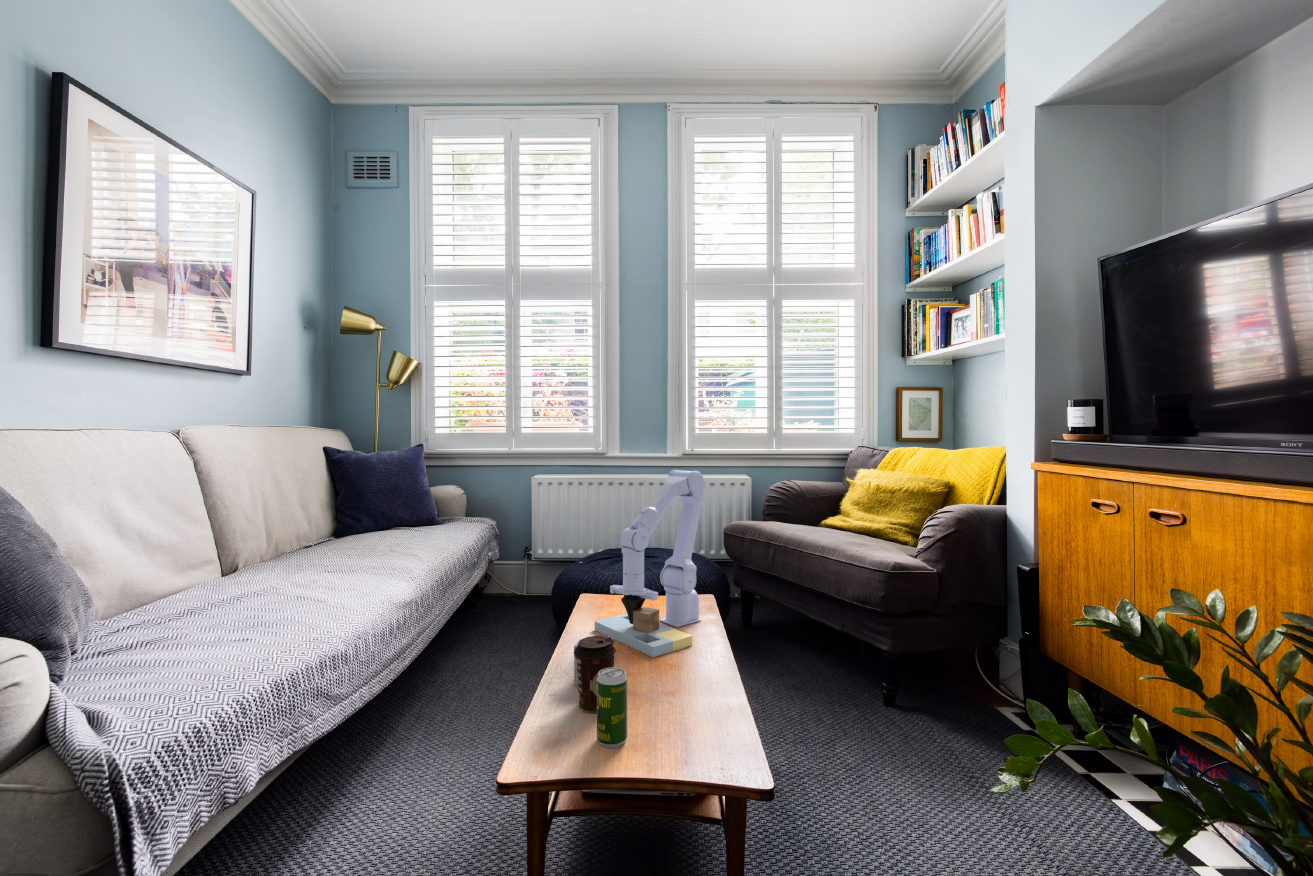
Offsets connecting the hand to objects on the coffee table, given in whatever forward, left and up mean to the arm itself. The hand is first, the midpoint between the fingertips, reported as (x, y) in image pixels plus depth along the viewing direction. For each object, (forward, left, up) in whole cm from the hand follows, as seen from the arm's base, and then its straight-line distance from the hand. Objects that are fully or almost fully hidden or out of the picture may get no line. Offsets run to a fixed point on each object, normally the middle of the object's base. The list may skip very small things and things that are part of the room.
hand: (633, 623), depth 158 cm
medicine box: (+25, +19, -4) cm, 31 cm away
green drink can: (+36, +42, -4) cm, 55 cm away
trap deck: (-1, +3, -3) cm, 4 cm away
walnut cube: (-1, +4, -1) cm, 4 cm away
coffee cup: (+31, +29, -4) cm, 42 cm away
